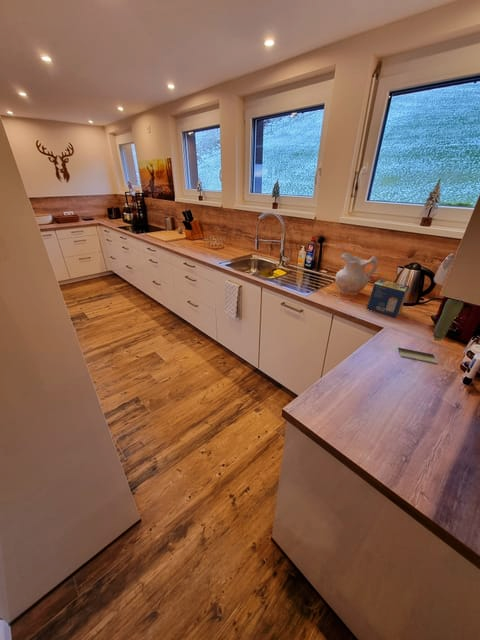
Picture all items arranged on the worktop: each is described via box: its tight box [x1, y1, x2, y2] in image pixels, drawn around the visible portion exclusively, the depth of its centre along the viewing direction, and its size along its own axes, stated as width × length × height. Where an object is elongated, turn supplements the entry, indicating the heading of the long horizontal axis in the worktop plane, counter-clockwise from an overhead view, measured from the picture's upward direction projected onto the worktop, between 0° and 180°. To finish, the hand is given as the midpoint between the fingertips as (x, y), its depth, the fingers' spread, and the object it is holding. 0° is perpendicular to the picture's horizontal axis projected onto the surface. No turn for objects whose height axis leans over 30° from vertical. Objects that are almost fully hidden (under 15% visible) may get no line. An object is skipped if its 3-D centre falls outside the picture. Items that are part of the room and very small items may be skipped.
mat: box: [397, 347, 438, 365], centre depth 110 cm, size 13×11×1 cm
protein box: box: [366, 278, 410, 319], centre depth 142 cm, size 10×15×16 cm
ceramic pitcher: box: [335, 252, 379, 296], centre depth 164 cm, size 22×20×25 cm
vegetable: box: [432, 298, 465, 342], centre depth 85 cm, size 4×4×20 cm
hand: (457, 297), depth 82 cm, fingers closed on vegetable, 3 cm apart
